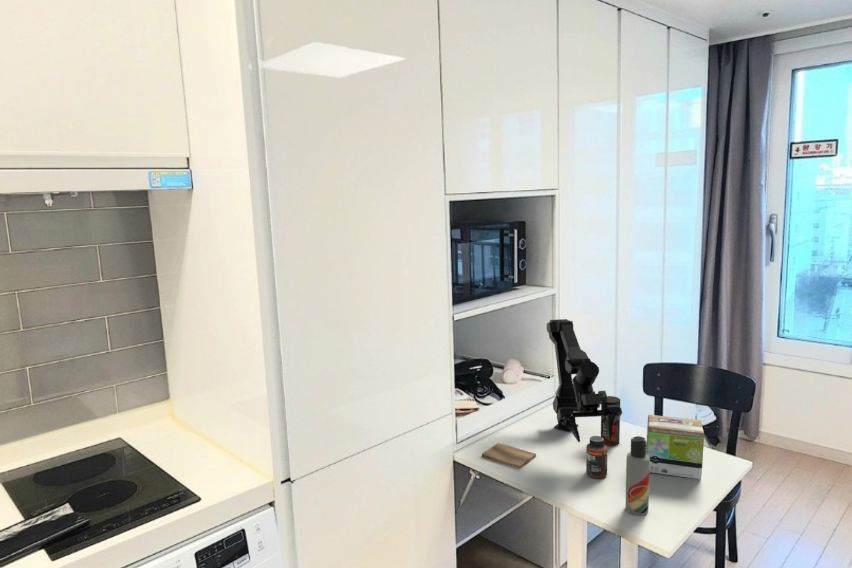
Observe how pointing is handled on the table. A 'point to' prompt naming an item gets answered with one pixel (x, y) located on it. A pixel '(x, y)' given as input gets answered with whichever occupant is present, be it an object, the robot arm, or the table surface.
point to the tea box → (675, 446)
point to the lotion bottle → (637, 477)
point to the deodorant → (616, 425)
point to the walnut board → (508, 455)
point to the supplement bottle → (596, 458)
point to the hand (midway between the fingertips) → (594, 440)
